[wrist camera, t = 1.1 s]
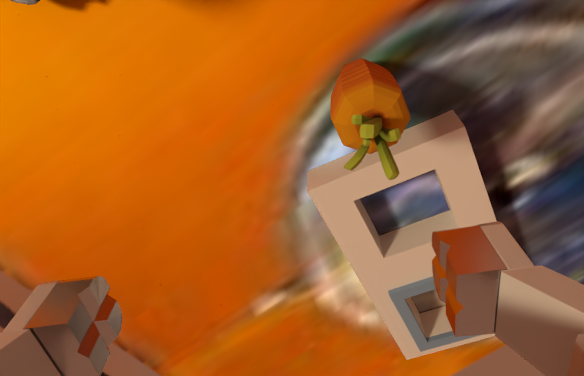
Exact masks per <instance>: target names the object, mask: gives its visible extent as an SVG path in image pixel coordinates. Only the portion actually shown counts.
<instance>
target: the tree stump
mask: <svg viewBox="0 0 584 376" xmlns="http://www.w3.org/2000/svg"><path fill="white" fill-rule="evenodd" d="M11 1H14V2H17V3H23V4H28V5H31V4H36V3H37V2H39V1H40V0H11Z"/></svg>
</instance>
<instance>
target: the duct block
mask: <svg viewBox="0 0 584 376" xmlns="http://www.w3.org/2000/svg"><path fill="white" fill-rule="evenodd" d="M389 149H390V151H391V154H392V156H393V158H394V160H395V162H396V165H397V167H398V170H399V175H398V177H396V178H395V179H393V180H388V179H387V177H386V175H385V172H384V170H383V167H382V164H381V161H380V157H379V154H378V151H377V152H375V153H372V154H368V153H366V155H365V157H364V158H363V160H362V162H361V163H360V164H359V165H358V166H357V167H356V168H355V169H354V170H353V171H351V170H346V169H345V168H344V165H345V164H346V163H347V162H348V161H349V160H350V159H351V158H352V157H353V156H354V155H355V153H356V152H357V151H358V150H357V151H354V152H352V153H350V154H347V155H345V156H343V157H340V158H338V159H336V160H333V161H331V162H328V163H326V164H324V165H321V166H319V167H317V168H314V169H312V170H310V171H308V172H307V192H308V194H309V195H310V197H311V199H312V200H313V202H314V204H315V205H316V207H317V209H318V210H319V212H320V214H321V216H322V217H323V219H324V221H325V222H326V224H327V226H328V227H329V229H330V231H331V233H332V234H333V236H334V238H335V239H336V241H337V243H338V244H339V246H340V248H341V249H342V251H343V253H344V255H345V256H346V258H347V260H348V261H349V263H350V265H351V266H352V268H353V270H354V272H355V273H356V275H357V277H358V278H359V280H360V282H361V283H362V285H363V287H364V288H365V290H366V292H367V294H368V295H369V297H370V299H371V300H372V302H373V304H374V305H375V307H376V309H377V310H378V312H379V314H380V316H381V317H382V319H383V321H384V322H385V324H386V326H387V327H388V329H389V331H390V333H391V334H392V336H393V338H394V339H395V341H396V343H397V344H398V346H399V348H400V349H401V351H402V353H403V355H404V356H405V358H406V360H408V359H411V358H415V357H419V356H423V355H426V354H430V353H434V352H437V351H441V350H445V349H448V348H452V347H456V346H459V345H463V344H467V343H470V342H474V341H478V340H481V339H485V338H489V337H492V336H495V334H485V335H473V336H462V337H455V335H454V333H453V330H452V328H451V325H450V323H449V321H448V318H447V316H446V306H443V307H439V308H436V309H433V310H429V311H426V312H423V313H419V311H418V309H417V308H416V306H415V304H414V302H413V300H412V298H411V297H412V296H416V295H419V294H422V293H425V292H428V291H432V290H435V289H436V287H435V284H434V278H433V272H432V260H433V258H434V257H435V256H436V254H435V252H434V249H433V247H432V233H433V231H440V230H447V229H455V228H462V227H469V226H476V225H478V224H484V223H491V222H497V221H496V218H495V215H494V212H493V209H492V206H491V203H490V200H489V197H488V194H487V191H486V188H485V185H484V182H483V179H482V176H481V173H480V170H479V167H478V164H477V161H476V158H475V155H474V152H473V149H472V146H471V143H470V140H469V137H468V134H467V131H466V128H465V126H464V125H463V123H462V122H461V120H460V119H459V118H458V116H457V115H456V114H455V112H454V111H453V110H450V111H448V112H446V113H443V114H441V115H439V116H436V117H434V118H432V119H429V120H427V121H425V122H422V123H420V124H418V125H415V126H413V127H410V128H408V129H406V130H404V131H403V133H402V135H401V138H400V139H399V140H398V142H397V144H395V145H392V146H390V147H389ZM431 170H434V171H435V173H436V176H437V178H438V181H439V183H440V186H441V188H442V191H443V193H444V196H445V199H446V201H447V204H448V206H449V209H450V210H449V211H446V212H443V213H441V214H438V215H435V216H432V217H430V218H427V219H424V220H421V221H419V222H416V223H413V224H410V225H407V226H405V227H402V228H399V229H396V230H394V231H391V232H388V233H385V234H383V235H380V236H379V235H378V233H377V231H376V229H375V227H374V225H373V223H372V221H371V219H370V217H369V215H368V213H367V212H366V210H365V208H364V206H363V204H362V202H361V200H360V198H363V197H365V196H368V195H370V194H373V193H375V192H378V191H380V190H383V189H385V188H388V187H391V186H393V185H396V184H398V183H401V182H403V181H406V180H408V179H411V178H413V177H416V176H419V175H421V174H424V173H426V172H429V171H431Z"/></svg>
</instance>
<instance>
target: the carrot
mask: <svg viewBox="0 0 584 376" xmlns="http://www.w3.org/2000/svg"><path fill="white" fill-rule="evenodd" d="M331 119H332V122H333V124H334V126H335V128H336V130H337V132H338V134H339V137H340V139H341V141H342V143H343V145H344V146H347V147H350V148H353V149H356V150H358V151H357V152H356V153H355V155H354V156H353V157H352V158H351V159H350V160H349V161H348V162H347V163H346V164H345V165H344V168H345V169H346V170H351V171H353V170H354V169H355V168H356V167H357V166H358V165H359V164H360V163H361V162H362V160H363V158H364V157H365V155H366V153H368V154H372V153H375V152H377V151H378V154H379V157H380V161H381V164H382V167H383V170H384V172H385V175H386V177H387V179H388V180H393V179H395V178H396V177H398V175H399V170H398V167H397V165H396V162H395V160H394V158H393V156H392V154H391V151H390V149H389V147H390V146H392V145H395V144H397V142H398V140H399V139H400V138H401V135H402V133H403V131H404V129H405V127H406V125H407V124H408V122H409V120H410V113H409V110H408V108H407V105H406V102H405V99H404V97H403V94H402V91H401V88H400V86H399V85H398V83H397V82H396V80H395V78H394V77H393V76H392V74H391V73H390V72H389V71H388V70H387V69H385V68H384V67H382V66H380V65H378V64H375V63H373V62H370V61H367V60H365V59H362V58H360V59H358V60H355V61H353V62H351V63H349V64H347V65H344V66H343V68H342V70H341V73H340V75H339V77H338V80H337V82H336V85H335V87H334V89H333V92H332V95H331Z"/></svg>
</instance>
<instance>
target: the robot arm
mask: <svg viewBox="0 0 584 376" xmlns="http://www.w3.org/2000/svg"><path fill="white" fill-rule="evenodd" d="M432 247H433V249H434V252H435V254H436V256H435V257H434V258H433V260H432V272H433V278H434V284H435V287H436V291H437V293H438V296H439V298H440V300H442V301H443V302H445V303H446V316H447V318H448V321H449V323H450V325H451V328H452V330H453V333H454V335H455V337H462V336H473V335H485V334H495V336H496V337H497V338H499V339H500V340H501V341H502V342H504V343H505V344H506V345H508V346H509V347H510V348H511V349H513V350H514V351H515V352H516V353H518V354H519V355H520V356H521V357H523V358H524V359H525V360H527V361H528V362H529V363H530V364H531V365H533V366H534V367H535V368H536V369H538V370H539V371H540V372H542V373H543V374H544V375H545V376H584V285H583V284H580V283H578V282H576V281H574V280H572V279H570V278H568V277H565V276H563V275H561V274H559V273H557V272H555V271H553V270H550V269H548V268H546V267H544V266H542V265H541V266H534V264H533V263H532V262H531V260H530V259H529V258H528V256H527V255H526V254H525V252H524V251H523V250H522V248H521V247H520V246H519V244H518V243H517V242H516V240H515V239H514V238H513V236H512V235H511V234H510V232H509V231H508V230H507V228H506V227H505V226H504V224H503V223H501V222H499V221H497V222H491V223H484V224H478V225H476V226H469V227H462V228H455V229H447V230H440V231H433V233H432ZM109 289H110V287H109V285H108V283H107V282H106V280H105V278H103V277H100V276H94V277H85V278H76V279H67V280H62V281H51V282H44V283H42V284H40V285H38V286H37V287H36V288H35V290H34V291H33V292H32V294H31V295H30V296H29V298H28V299H27V300H26V302H25V303H24V304H23V306H22V307H21V308H20V310H19V311H18V312H17V314H16V315H15V316H14V318H13V319H12V320H11V321H10V323H9V324H8V325H7V327H6V328H5V329H4V331H3V332H1V333H0V376H100V375H101V373H102V370H103V368H104V366H105V364H106V362H107V359H108V357H109V355H110V351H109V349H108V346H109V345H110V344H111V343H112V342H113V341H114V340H115V339H116V338H117V337H118V334H119V332H120V330H121V323H122V314H121V309H120V306H119V304H118V302H117V301H116V300H115V299H113V298H112V297H110V296H109V295H108V292H109Z"/></svg>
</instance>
